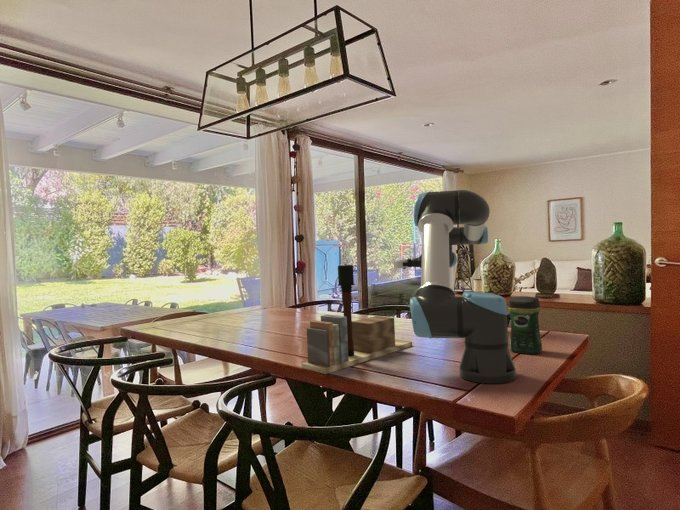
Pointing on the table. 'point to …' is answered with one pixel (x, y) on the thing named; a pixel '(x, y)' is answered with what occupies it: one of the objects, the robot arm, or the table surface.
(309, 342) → the book rack
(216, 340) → the table surface
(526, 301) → the coffee jar
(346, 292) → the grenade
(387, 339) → the bookend
